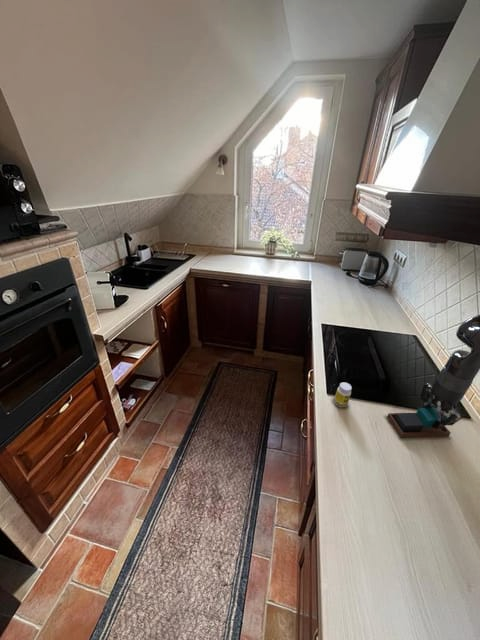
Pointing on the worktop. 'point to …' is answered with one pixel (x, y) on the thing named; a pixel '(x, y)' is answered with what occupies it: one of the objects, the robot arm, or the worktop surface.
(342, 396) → the supplement bottle
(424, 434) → the pad frame
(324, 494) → the worktop surface
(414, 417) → the black block
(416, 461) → the worktop surface
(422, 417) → the teal pad
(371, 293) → the worktop surface
